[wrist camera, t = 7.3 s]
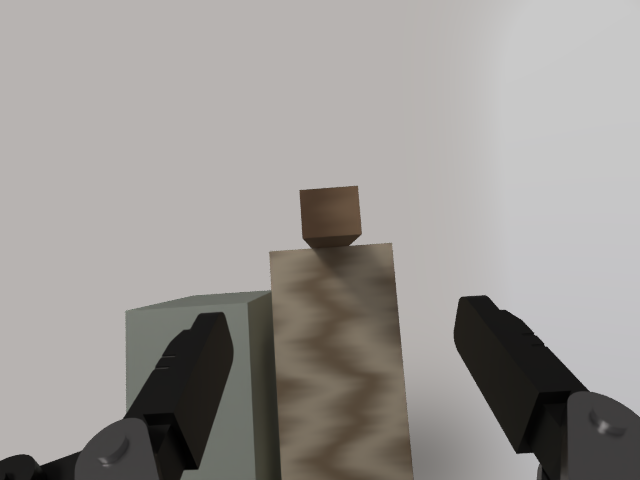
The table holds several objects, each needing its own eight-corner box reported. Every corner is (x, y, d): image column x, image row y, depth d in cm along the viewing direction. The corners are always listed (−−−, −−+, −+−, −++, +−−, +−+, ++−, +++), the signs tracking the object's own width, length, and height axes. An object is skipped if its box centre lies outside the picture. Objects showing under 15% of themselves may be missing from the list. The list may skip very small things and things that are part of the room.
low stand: (129, 701, 21) (125, 310, 24) (200, 544, 33) (193, 295, 36) (265, 695, 21) (247, 302, 23) (288, 539, 33) (274, 290, 35)
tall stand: (293, 694, 21) (269, 251, 24) (305, 538, 33) (288, 256, 36) (432, 688, 21) (391, 242, 24) (394, 534, 33) (370, 250, 36)
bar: (302, 238, 15) (299, 190, 15) (317, 254, 37) (316, 234, 37) (361, 234, 15) (357, 185, 15) (341, 252, 37) (339, 233, 37)
